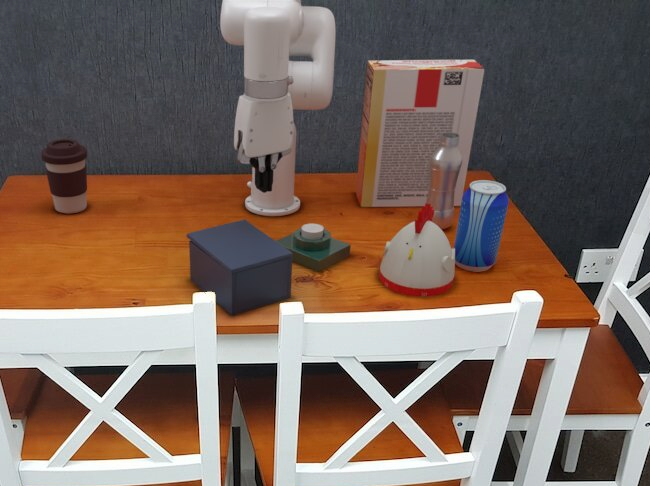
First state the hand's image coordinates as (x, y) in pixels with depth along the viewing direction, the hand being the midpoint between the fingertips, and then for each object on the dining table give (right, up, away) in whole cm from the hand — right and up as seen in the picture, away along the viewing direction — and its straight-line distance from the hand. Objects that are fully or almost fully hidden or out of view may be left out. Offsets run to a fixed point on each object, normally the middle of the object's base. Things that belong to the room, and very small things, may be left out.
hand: (263, 189), depth 144 cm
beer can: (+42, -12, +11) cm, 45 cm away
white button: (+10, -6, +12) cm, 17 cm away
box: (-4, -18, +3) cm, 19 cm away
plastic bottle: (+38, -2, +26) cm, 46 cm away
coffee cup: (-43, +4, +35) cm, 55 cm away
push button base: (+10, -10, +15) cm, 20 cm away
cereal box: (+35, +7, +38) cm, 52 cm away
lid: (-5, -11, -2) cm, 12 cm away
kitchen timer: (+29, -16, +6) cm, 34 cm away
